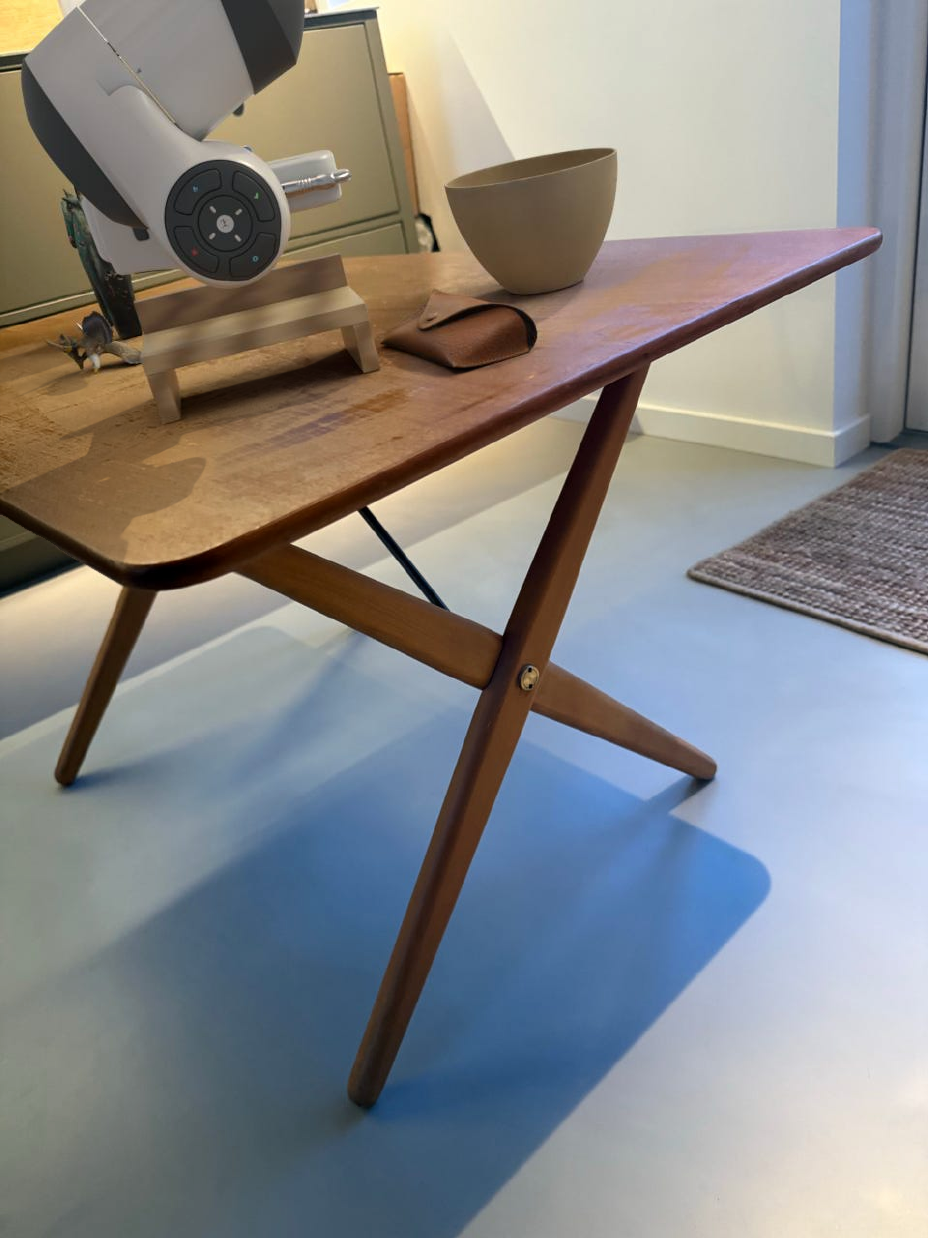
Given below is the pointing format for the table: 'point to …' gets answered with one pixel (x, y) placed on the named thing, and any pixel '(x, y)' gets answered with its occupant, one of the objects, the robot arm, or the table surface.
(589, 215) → the flower pot
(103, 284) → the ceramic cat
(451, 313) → the sunglasses case
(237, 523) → the table surface
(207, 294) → the shelf
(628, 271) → the table surface
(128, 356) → the eagle figurine
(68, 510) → the table surface
